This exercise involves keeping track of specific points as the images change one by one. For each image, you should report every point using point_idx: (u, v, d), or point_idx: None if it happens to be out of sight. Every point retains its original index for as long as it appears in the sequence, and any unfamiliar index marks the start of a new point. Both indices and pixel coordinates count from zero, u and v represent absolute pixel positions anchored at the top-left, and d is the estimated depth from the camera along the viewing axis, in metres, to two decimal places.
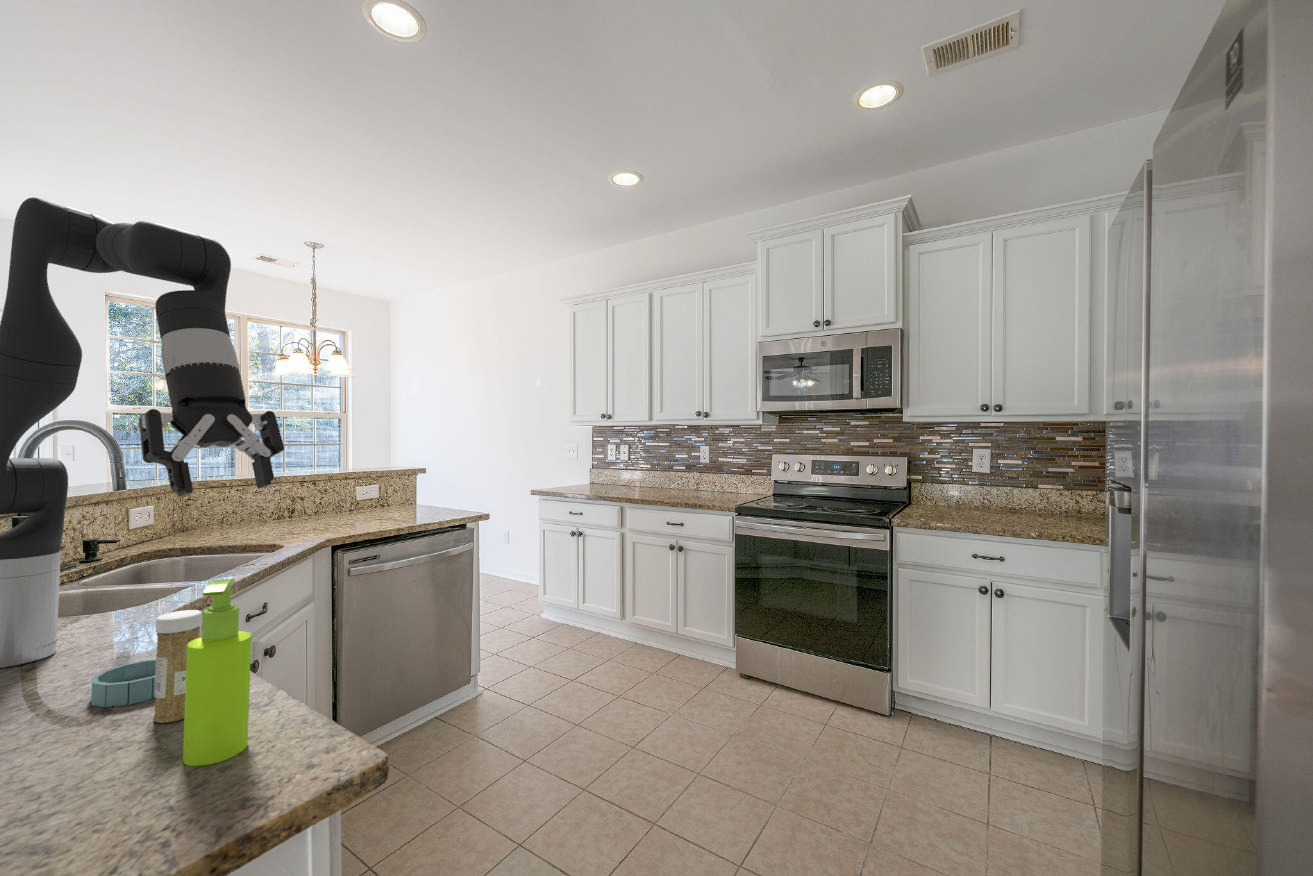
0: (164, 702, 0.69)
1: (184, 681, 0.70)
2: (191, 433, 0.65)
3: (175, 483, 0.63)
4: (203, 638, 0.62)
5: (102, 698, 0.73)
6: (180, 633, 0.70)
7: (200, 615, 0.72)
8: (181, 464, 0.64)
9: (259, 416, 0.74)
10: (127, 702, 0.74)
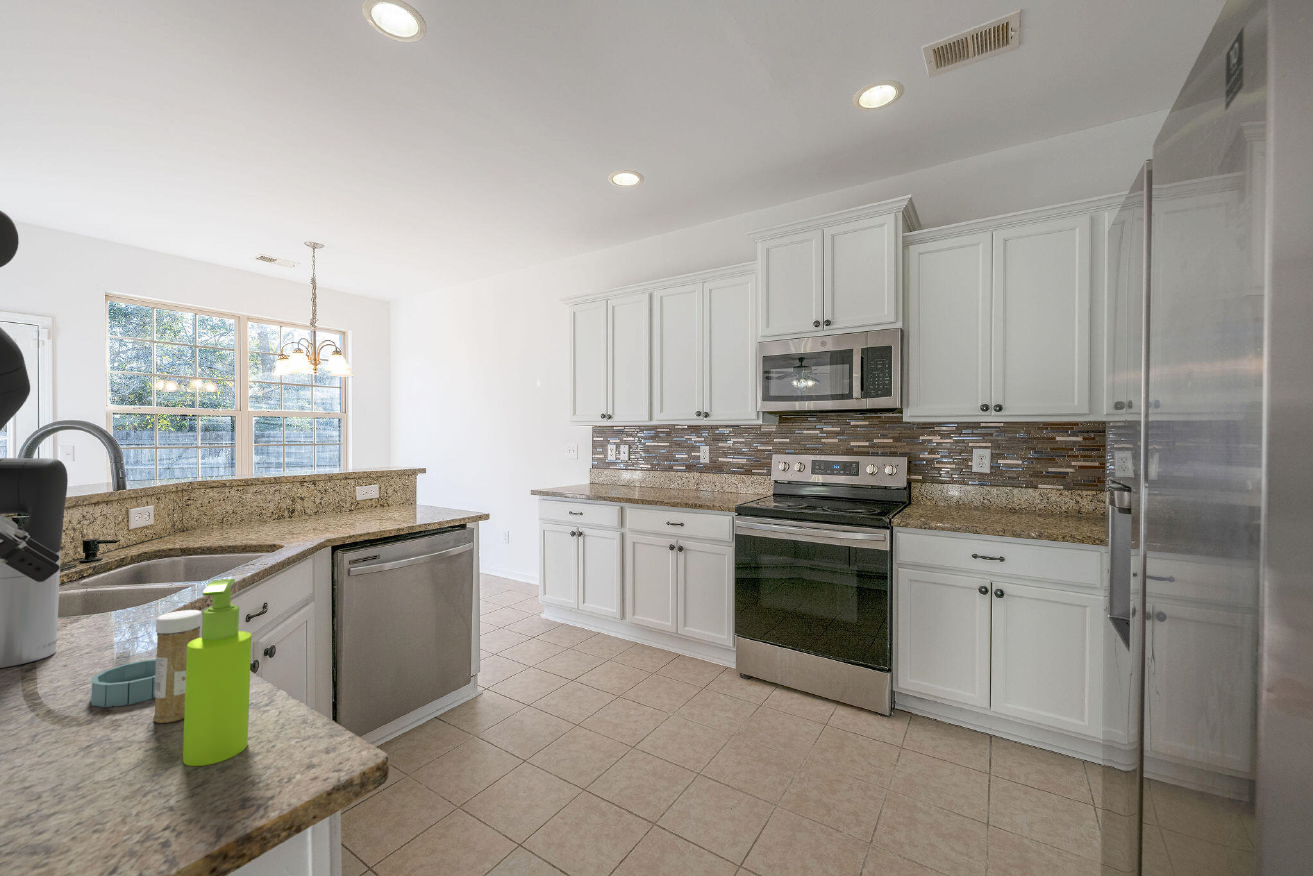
0: (165, 702, 0.69)
1: (184, 681, 0.70)
2: None
3: None
4: (203, 638, 0.62)
5: (102, 698, 0.73)
6: (180, 633, 0.70)
7: (200, 615, 0.72)
8: None
9: None
10: (127, 702, 0.74)
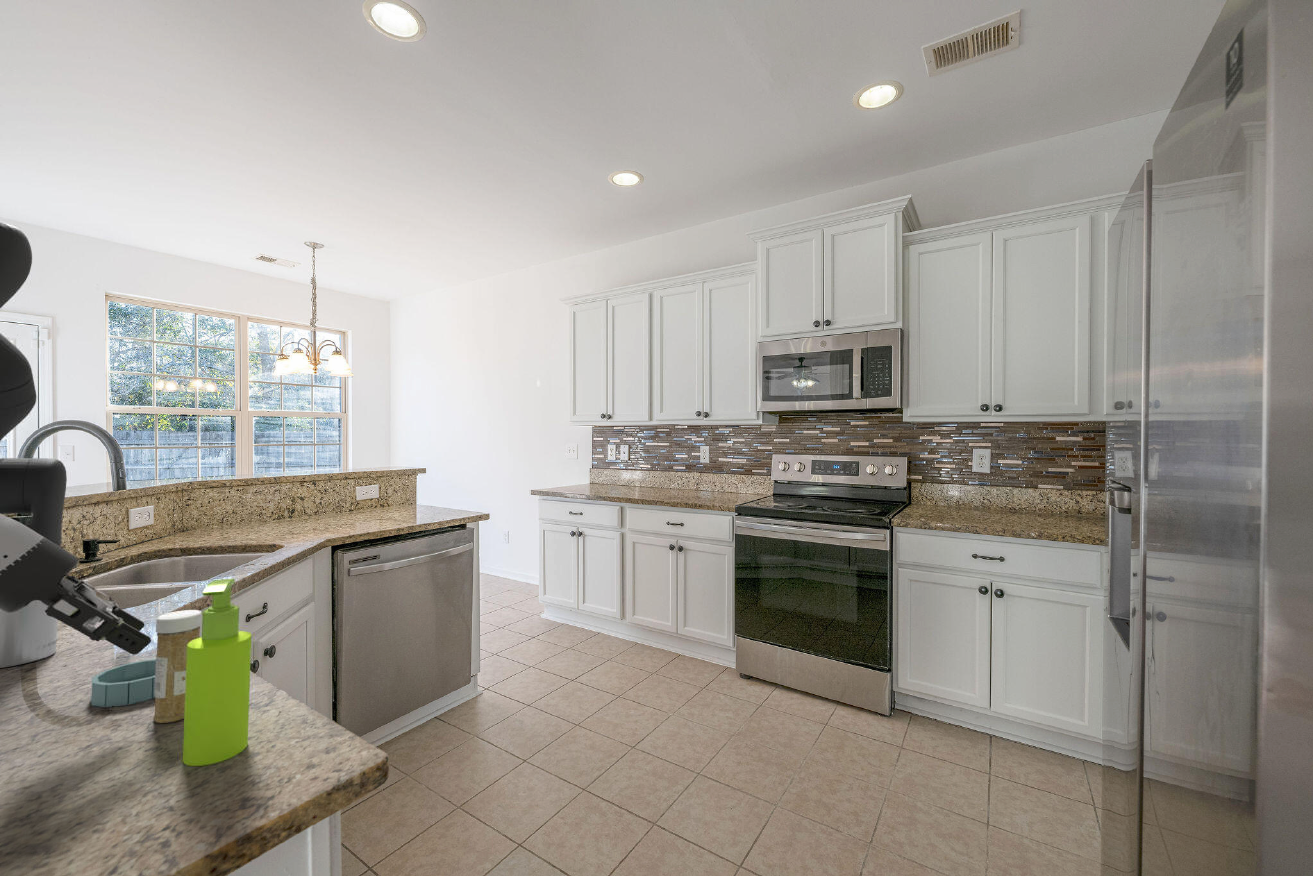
0: (165, 702, 0.69)
1: (184, 681, 0.70)
2: None
3: None
4: (203, 638, 0.62)
5: (102, 698, 0.73)
6: (180, 633, 0.70)
7: (200, 615, 0.72)
8: None
9: None
10: (127, 702, 0.74)
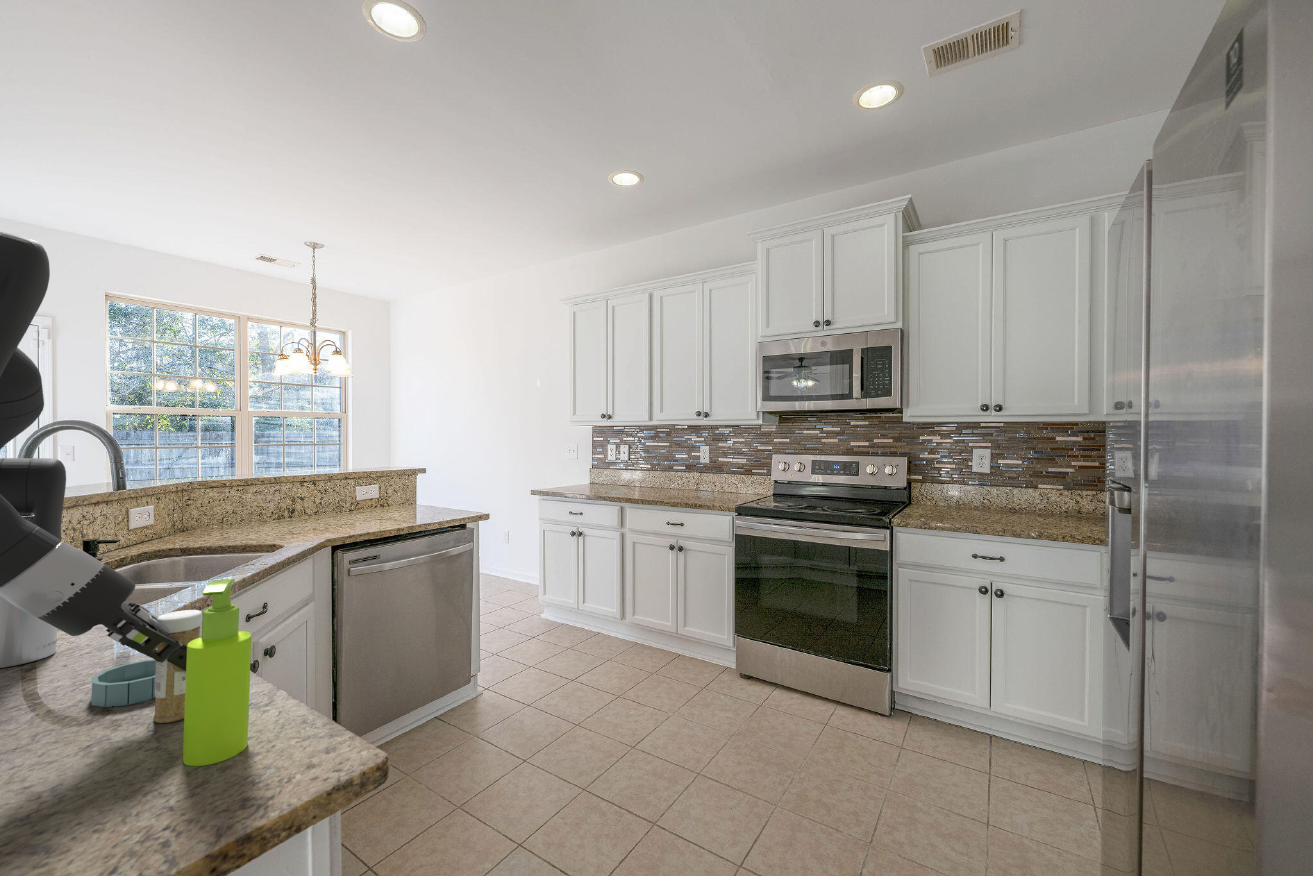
0: (165, 702, 0.69)
1: (184, 681, 0.70)
2: None
3: None
4: (203, 638, 0.62)
5: (102, 698, 0.73)
6: (180, 633, 0.70)
7: (200, 615, 0.72)
8: None
9: None
10: (127, 702, 0.74)
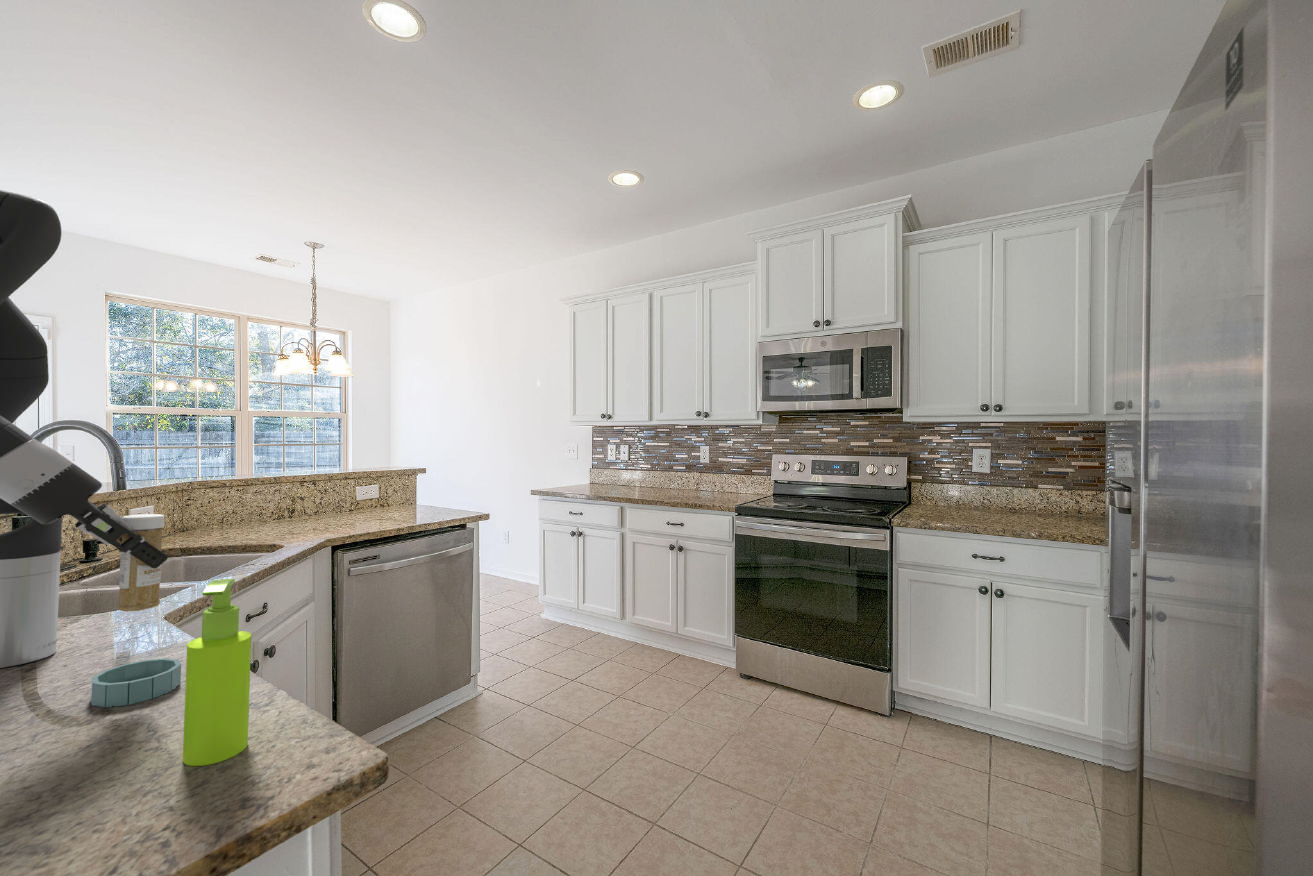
0: (128, 592, 0.76)
1: (146, 575, 0.77)
2: None
3: None
4: (203, 638, 0.62)
5: (102, 698, 0.73)
6: (142, 531, 0.77)
7: (162, 517, 0.79)
8: None
9: None
10: (127, 702, 0.74)
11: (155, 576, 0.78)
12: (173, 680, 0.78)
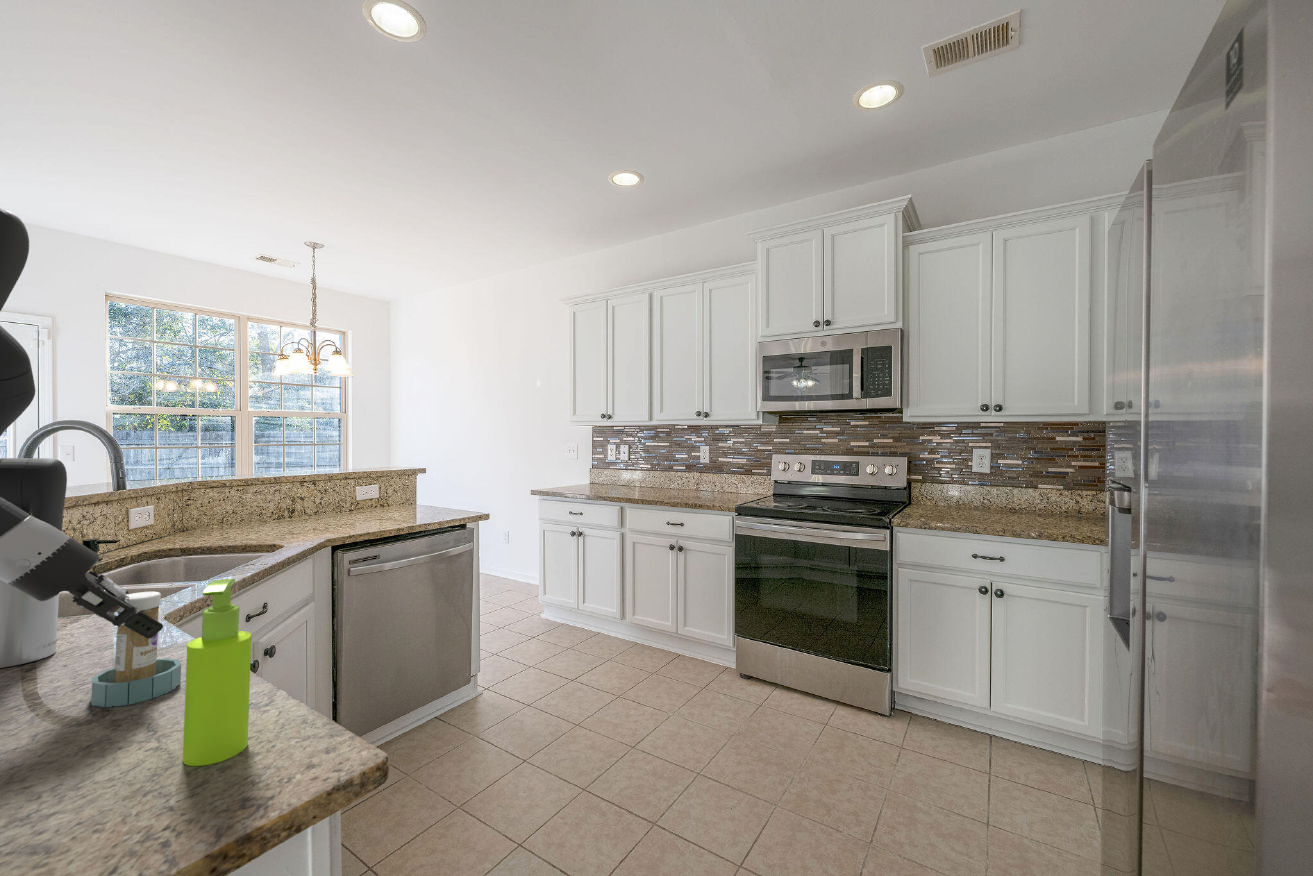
0: (124, 675, 0.75)
1: (142, 656, 0.76)
2: None
3: None
4: (203, 638, 0.62)
5: (102, 698, 0.73)
6: None
7: (159, 596, 0.79)
8: None
9: None
10: (127, 702, 0.74)
11: (152, 656, 0.78)
12: (173, 680, 0.78)
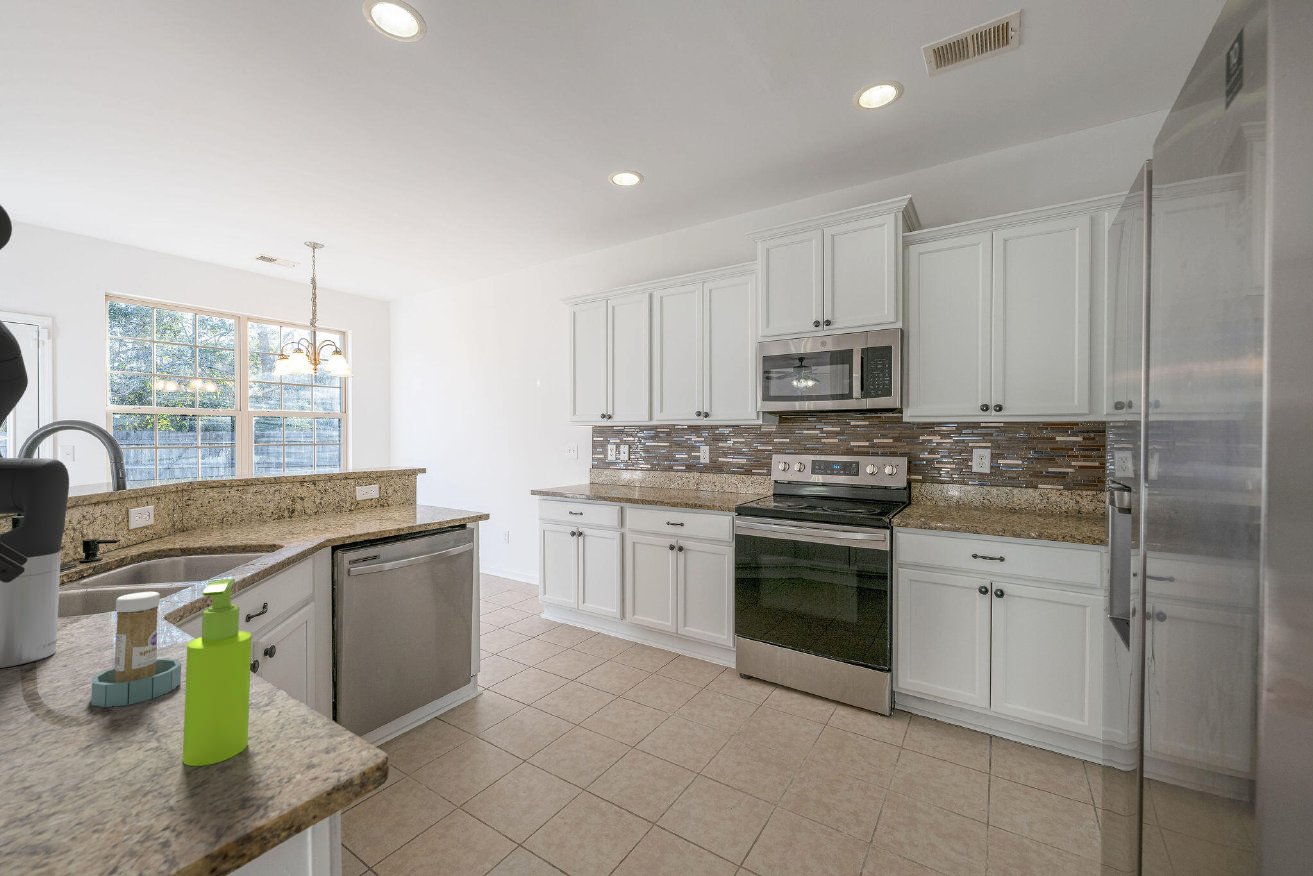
0: (123, 675, 0.75)
1: (142, 656, 0.76)
2: None
3: None
4: (203, 638, 0.62)
5: (102, 698, 0.73)
6: (138, 612, 0.76)
7: (157, 596, 0.78)
8: None
9: None
10: (127, 702, 0.74)
11: (151, 656, 0.78)
12: (173, 680, 0.78)
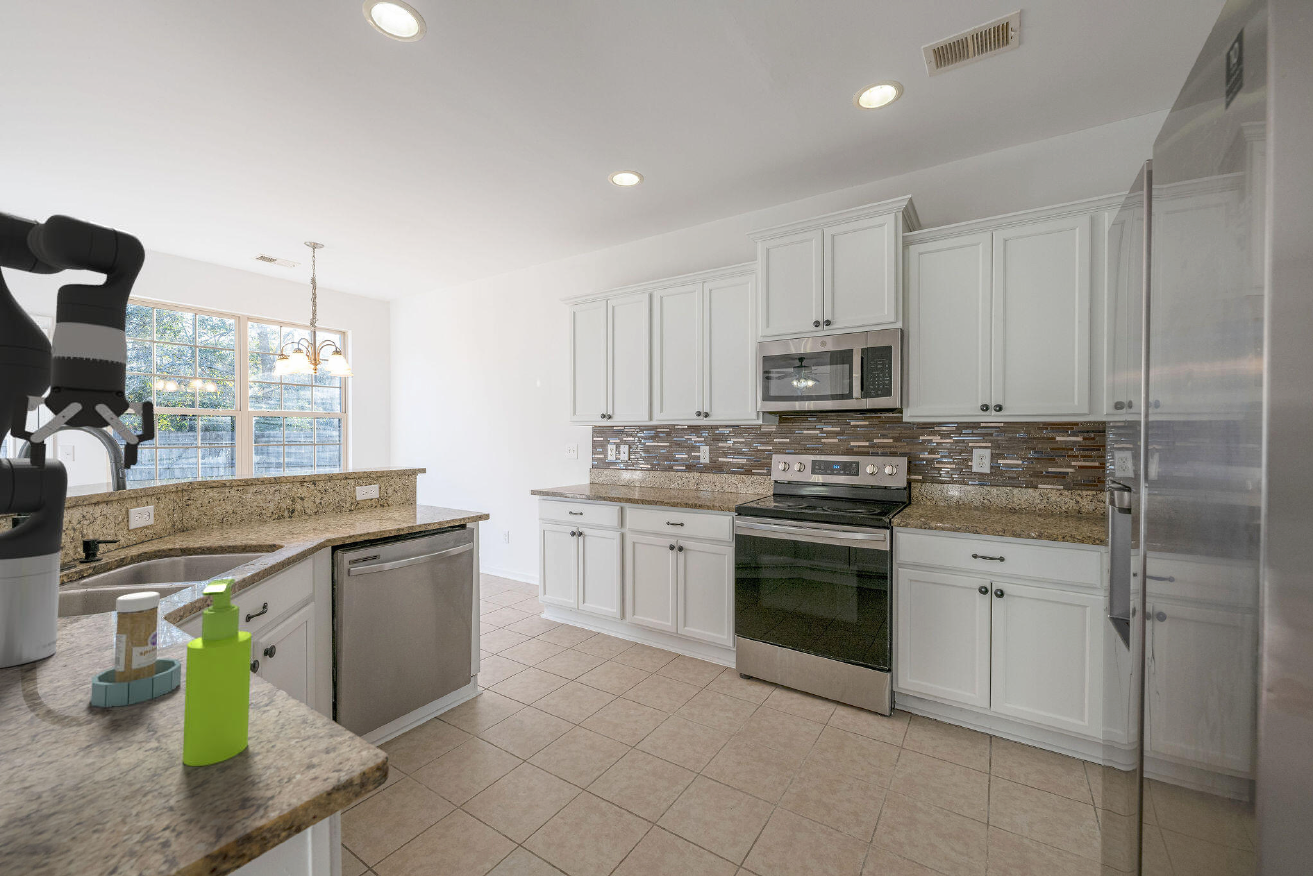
0: (123, 675, 0.75)
1: (142, 656, 0.76)
2: (54, 419, 0.74)
3: (30, 460, 0.74)
4: (203, 638, 0.62)
5: (102, 698, 0.73)
6: (138, 612, 0.76)
7: (158, 596, 0.78)
8: (39, 445, 0.74)
9: (138, 404, 0.82)
10: (127, 702, 0.74)
11: (151, 656, 0.78)
12: (173, 680, 0.78)
